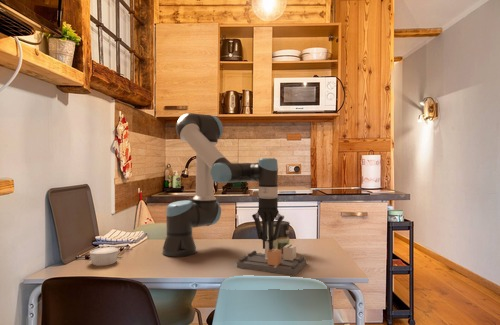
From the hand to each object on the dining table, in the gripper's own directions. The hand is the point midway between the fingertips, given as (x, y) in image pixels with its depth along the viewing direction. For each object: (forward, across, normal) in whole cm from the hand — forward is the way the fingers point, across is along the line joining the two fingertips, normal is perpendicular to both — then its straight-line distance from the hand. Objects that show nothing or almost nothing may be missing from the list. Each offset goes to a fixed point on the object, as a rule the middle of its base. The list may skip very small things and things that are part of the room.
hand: (267, 257), depth 134 cm
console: (+4, 0, +4) cm, 6 cm away
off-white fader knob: (+2, +6, +9) cm, 11 cm away
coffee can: (+5, -4, +24) cm, 24 cm away
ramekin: (+5, -65, -20) cm, 68 cm away
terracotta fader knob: (+2, +3, 0) cm, 4 cm away
